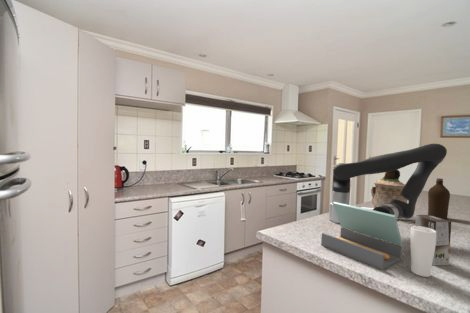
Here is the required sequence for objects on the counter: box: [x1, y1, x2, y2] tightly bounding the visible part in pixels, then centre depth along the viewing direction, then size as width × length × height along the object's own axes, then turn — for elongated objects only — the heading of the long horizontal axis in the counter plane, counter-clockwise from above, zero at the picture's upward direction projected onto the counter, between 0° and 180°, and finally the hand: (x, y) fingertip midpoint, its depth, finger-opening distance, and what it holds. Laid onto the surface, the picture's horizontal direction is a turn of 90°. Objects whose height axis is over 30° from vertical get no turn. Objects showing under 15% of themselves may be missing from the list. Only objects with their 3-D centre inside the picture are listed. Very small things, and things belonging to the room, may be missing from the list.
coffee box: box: [415, 214, 452, 266], centre depth 90 cm, size 9×6×16 cm
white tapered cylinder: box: [409, 225, 436, 278], centre depth 79 cm, size 7×7×15 cm
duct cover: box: [333, 202, 403, 247], centre depth 97 cm, size 24×14×1 cm
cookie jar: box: [360, 169, 416, 222], centre depth 154 cm, size 25×25×32 cm
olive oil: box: [427, 177, 451, 220], centre depth 152 cm, size 11×11×25 cm
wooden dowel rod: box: [335, 236, 390, 260], centre depth 95 cm, size 21×2×2 cm, turn 34°
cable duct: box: [320, 227, 403, 271], centre depth 95 cm, size 24×15×5 cm, turn 34°
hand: (365, 219), depth 97 cm, fingers closed
